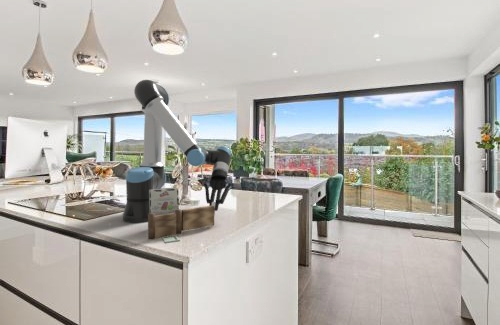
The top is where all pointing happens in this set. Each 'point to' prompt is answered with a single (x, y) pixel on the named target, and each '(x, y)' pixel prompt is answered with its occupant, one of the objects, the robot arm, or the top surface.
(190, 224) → the fence gate
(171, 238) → the card
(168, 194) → the candy bar box
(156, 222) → the fence base
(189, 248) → the top surface
